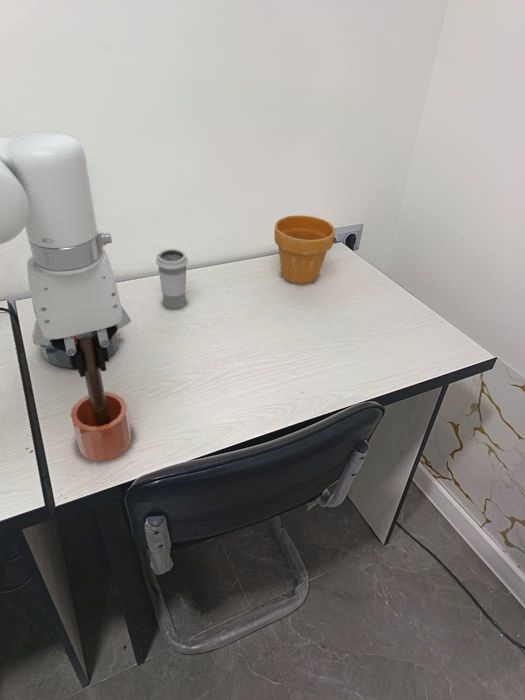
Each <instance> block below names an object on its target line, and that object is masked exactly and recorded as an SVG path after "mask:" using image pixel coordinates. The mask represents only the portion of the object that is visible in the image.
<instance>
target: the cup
mask: <svg viewBox="0 0 525 700" xmlns="http://www.w3.org/2000/svg"><path fill="white" fill-rule="evenodd" d="M188 262H189V259H188V257H187V255H186V253H185V252H184V251H183V250H181V249H178V248H166V249H163V250H160V251H159V252H158V254H157V257H156V259H155V263H156V265H157V266H158V274H159V281H160V282H159V283H160V288H161V294H162V299H163V305H164V307H165V308H167V309H170V310H178V309H181V308H183V307H185V305H186V291H187V265H188V264H189V263H188Z"/></svg>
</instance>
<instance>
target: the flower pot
mask: <svg viewBox="0 0 525 700" xmlns="http://www.w3.org/2000/svg"><path fill="white" fill-rule="evenodd" d="M335 234H336V229H335V226H334V225H333V224H332V223H331V222H329V221H327V220H325V219H323V218H320V217H316V216H311V215H303V214H301V215H300V214H297V215H288V216H285V217H281V218H280V219H278V220H277V221H276V222H275V224H274V235H273V236H274V243H275V244H276V246H277V248H278V256H279V262H280V269H281V275H282V278H283V279H285V280H286V281H288V282H290V283H293V284H298V285H306V284H307V285H308V284H311V283H313V282H315V281H316V280H317V279H318V276H319V274H320V272H321V269H322V266H323V263H324V261H325V258H326V257H327V256H326V255H327V253H328V251H329V250H331V249H332V247H333V245H334V241H335Z"/></svg>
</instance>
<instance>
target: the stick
mask: <svg viewBox="0 0 525 700" xmlns="http://www.w3.org/2000/svg"><path fill="white" fill-rule="evenodd" d="M76 341H77V345H78V349H79V350H80V353H81V356H82V360H83V365H84V369H85V374H86V375H84V380H85V385H86V389H87V393H88V395H89V398H90V403H91V407H92V411H93V416H94V420H95V424H96V426H103V425H106V424H109V423H110V417H109V412H108V407H107V402H106V397H105V392H106V391H105V388H104V382H103V378H102V373H101V372H102V371H101V370H100V368H99V363H98V358H97V353H96V348H95V342H94V337H93V334H92V333H91V332H87V333H83V334H78V335H76Z"/></svg>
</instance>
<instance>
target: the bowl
mask: <svg viewBox="0 0 525 700" xmlns="http://www.w3.org/2000/svg"><path fill="white" fill-rule="evenodd" d="M91 333H92V334H93V337H94V336H95V332H94V331H91ZM119 339H120V338H119V332H118V330H117V332H116V333H115V334H114V336H113V337H112V338H111V339H110V340H109V345H108V346H107V351H108V357H109V358H110V357H111V355H112V354H113V353H115V351H116V350H117V348H118V346H119ZM76 343H77V342H76ZM39 347H40V350H41V353H42V357H43V358H44V359H45V360H47V362H48V363H50V364H53V365H55V366H57V367H63V368H68V369H69V368H71V369H72V366H71V363H70V359H69V355H68V354H67V352H64V351H62V350H60V349H57V348H55V347H53V346H52V345H49V346H45V345H39Z"/></svg>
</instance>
